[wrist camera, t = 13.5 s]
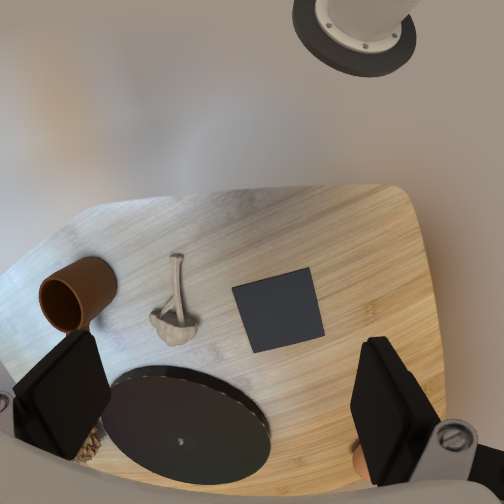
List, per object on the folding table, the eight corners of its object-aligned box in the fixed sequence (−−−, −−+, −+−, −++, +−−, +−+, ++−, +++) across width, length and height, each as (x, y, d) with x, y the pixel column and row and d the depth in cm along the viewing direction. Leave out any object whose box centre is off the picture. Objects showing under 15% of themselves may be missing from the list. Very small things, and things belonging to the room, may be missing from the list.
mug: (123, 335, 41) (95, 369, 32) (82, 326, 41) (50, 356, 32) (116, 257, 38) (80, 280, 29) (73, 252, 38) (33, 272, 29)
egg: (362, 430, 44) (373, 467, 35) (389, 434, 45) (402, 469, 36) (342, 451, 46) (350, 488, 37) (369, 455, 46) (379, 489, 37)
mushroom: (191, 262, 34) (187, 358, 35) (208, 258, 38) (202, 345, 39) (142, 254, 35) (141, 344, 37) (162, 251, 40) (159, 334, 41)
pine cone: (117, 444, 48) (101, 478, 39) (82, 437, 49) (64, 467, 39) (74, 359, 43) (45, 392, 33) (39, 356, 44) (10, 383, 34)
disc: (275, 475, 48) (275, 486, 45) (137, 467, 50) (133, 476, 47) (263, 362, 41) (263, 374, 38) (83, 360, 43) (75, 369, 40)
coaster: (231, 287, 38) (231, 288, 38) (308, 267, 37) (309, 268, 37) (253, 352, 41) (253, 353, 40) (324, 334, 40) (324, 335, 39)
